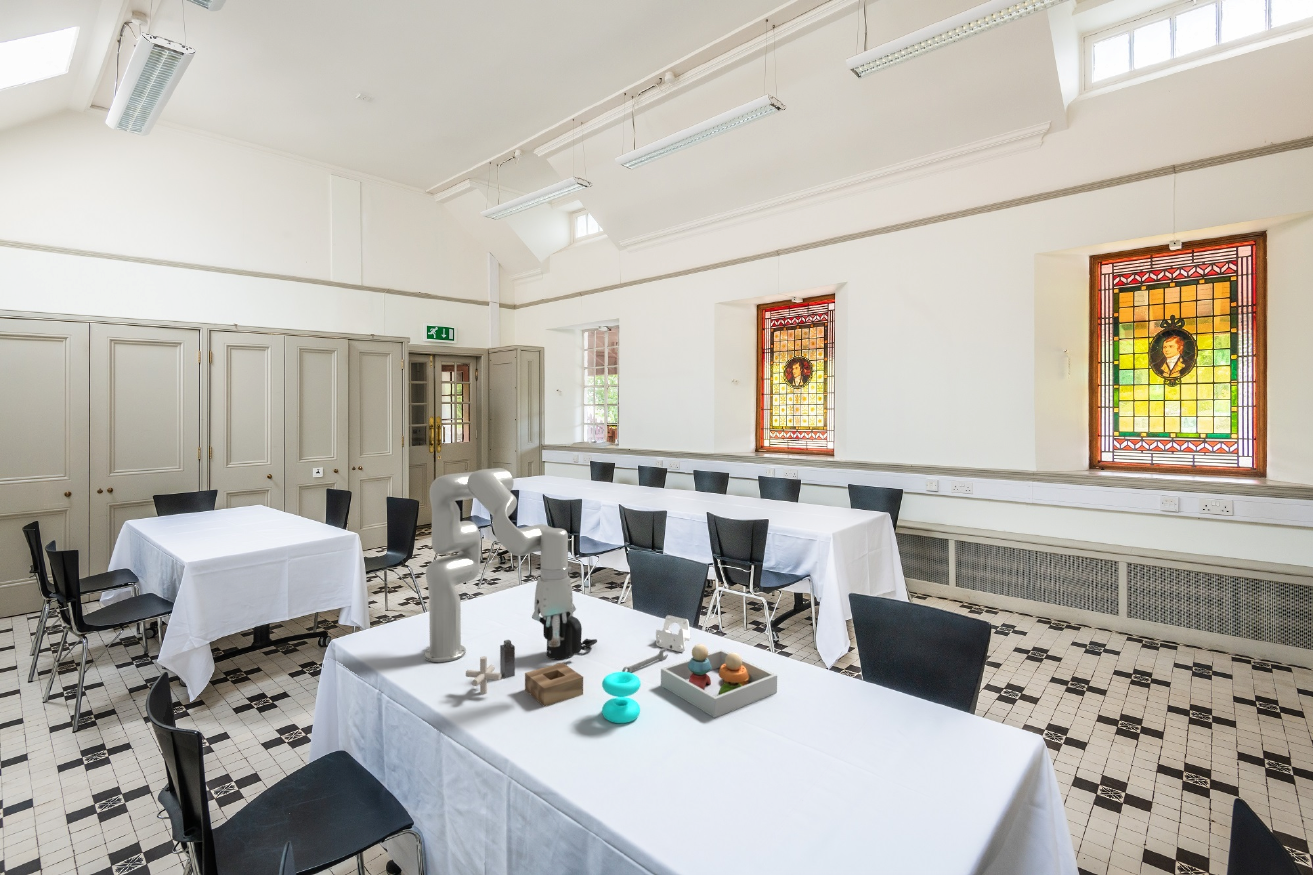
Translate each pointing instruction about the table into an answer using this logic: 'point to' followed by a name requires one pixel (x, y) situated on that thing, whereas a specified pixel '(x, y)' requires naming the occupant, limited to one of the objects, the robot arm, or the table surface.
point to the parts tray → (726, 702)
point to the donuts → (621, 697)
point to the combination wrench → (646, 661)
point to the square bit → (507, 659)
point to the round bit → (555, 630)
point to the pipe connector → (483, 675)
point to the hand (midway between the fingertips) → (554, 637)
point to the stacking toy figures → (728, 672)
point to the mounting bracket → (669, 638)
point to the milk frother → (569, 641)
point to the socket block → (553, 684)
